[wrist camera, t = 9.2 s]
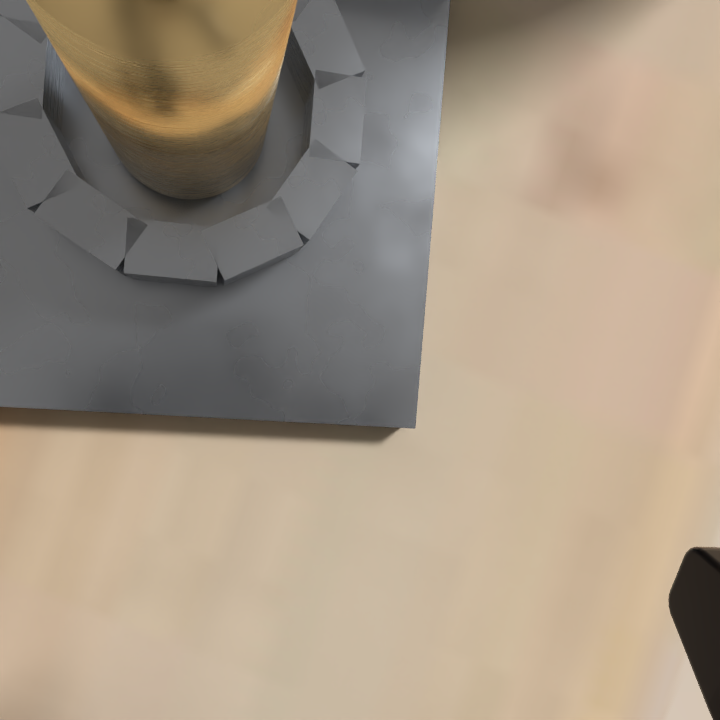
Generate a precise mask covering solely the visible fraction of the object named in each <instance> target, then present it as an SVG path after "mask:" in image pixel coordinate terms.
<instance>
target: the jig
mask: <svg viewBox="0 0 720 720" xmlns="http://www.w3.org/2000/svg"><path fill="white" fill-rule="evenodd" d="M449 9H450V0H297V4H296V8H295V13H294V17H293V21H292V25H291V30H290V34H289V38H288V42H287V47H286V51H285V55H284V60H283V64H282V68H281V72H280V77H279V81H278V85H277V89H276V94H275V98H274V102H273V106H272V111H271V115H270V119H269V123H268V128H267V132H266V136H265V140H264V144H263V148H262V151H261V154H260V156H259V158H258V161H257V162H256V164H255V166H254V167H253V169H252V170H251V171H250V173H249V174H248V175H247V176H246V177H245V178H244V179H243V180H242V181H241V182H240V183H239V184H237V185H236V186H234V187H233V188H231V189H230V190H228V191H226V192H224V193H222V194H219V195H216V196H213V197H208V198H203V199H180V198H175V197H170V196H167V195H164V194H161V193H159V192H157V191H155V190H153V189H151V188H149V187H148V186H146V185H144V184H143V183H141V182H140V181H139V180H138V179H136V178H135V177H134V176H133V175H132V174H131V173H130V172H129V171H128V170H127V169H126V168H125V166H124V165H123V164H122V162H121V161H120V159H119V158H118V156H117V154H116V153H115V151H114V149H113V148H112V146H111V144H110V142H109V141H108V139H107V137H106V136H105V134H104V132H103V131H102V129H101V127H100V125H99V124H98V122H97V120H96V119H95V117H94V115H93V113H92V112H91V110H90V108H89V107H88V105H87V103H86V102H85V100H84V98H83V96H82V95H81V93H80V91H79V90H78V88H77V86H76V85H75V83H74V81H73V79H72V78H71V76H70V74H69V73H68V71H67V69H66V68H65V66H64V64H63V62H62V61H61V59H60V57H59V56H58V54H57V52H56V50H55V49H54V47H53V45H52V44H51V42H50V40H49V39H48V37H47V35H46V33H45V32H44V30H43V28H42V27H41V25H40V23H39V22H38V20H37V18H36V16H35V15H34V13H33V11H32V10H31V8H30V6H29V5H28V3H27V1H26V0H0V407H18V408H37V409H55V410H74V411H93V412H112V413H131V414H150V415H169V416H188V417H207V418H226V419H245V420H264V421H283V422H302V423H321V424H340V425H359V426H377V427H396V428H415V425H416V413H417V401H418V388H419V376H420V364H421V352H422V339H423V327H424V315H425V303H426V290H427V278H428V266H429V254H430V241H431V229H432V217H433V205H434V193H435V180H436V168H437V156H438V144H439V131H440V119H441V107H442V95H443V82H444V70H445V58H446V46H447V33H448V21H449Z"/></svg>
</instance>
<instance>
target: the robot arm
mask: <svg viewBox="0 0 720 720" xmlns="http://www.w3.org/2000/svg"><path fill="white" fill-rule="evenodd" d="M669 609H670V613H671V616H672V618H673V621H674V623H675V626H676V628H677V631H678V634H679V636H680V639H681V641H682V644H683V646H684V649H685V651H686V654H687V656H688V659H689V661H690V664H691V666H692V669H693V671H694V674H695V676H696V679H697V681H698V684H699V686H700V689H701V692H702V694H703V696H704V699H705V702H706V704H707V707H708V709H709V711H710V714H711V716H712V718H713V720H720V548H717V547H694V548H691V549H690V550H689V551H688V552H686V554H685V556H684V558H683V561H682V563H681V566H680V568H679V571H678V573H677V576H676V578H675V580H674V583H673V585H672V588H671V590H670V593H669Z"/></svg>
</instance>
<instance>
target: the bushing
mask: <svg viewBox="0 0 720 720" xmlns="http://www.w3.org/2000/svg"><path fill="white" fill-rule="evenodd" d="M26 1H27V3H28V5H29V6H30V8H31V10H32V11H33V13H34V15H35V16H36V18H37V20H38V22H39V23H40V25H41V27H42V28H43V30H44V32H45V33H46V35H47V37H48V39H49V40H50V42H51V44H52V45H53V47H54V49H55V50H56V52H57V54H58V56H59V57H60V59H61V61H62V62H63V64H64V66H65V68H66V69H67V71H68V73H69V74H70V76H71V78H72V79H73V81H74V83H75V85H76V86H77V88H78V90H79V91H80V93H81V95H82V96H83V98H84V100H85V102H86V103H87V105H88V107H89V108H90V110H91V112H92V113H93V115H94V117H95V119H96V120H97V122H98V124H99V125H100V127H101V129H102V131H103V132H104V134H105V136H106V137H107V139H108V141H109V142H110V144H111V146H112V148H113V149H114V151H115V153H116V154H117V156H118V158H119V159H120V161H121V162H122V164H123V165H124V166H125V168H126V169H127V170H128V171H129V172H130V173H131V174H132V175H133V176H134V177H135V178H136V179H138V180H139V181H140V182H141V183H143V184H144V185H146V186H148V187H149V188H151V189H153V190H155V191H157V192H159V193H161V194H164V195H167V196H170V197H175V198H180V199H203V198H208V197H213V196H216V195H219V194H222V193H224V192H226V191H228V190H230V189H231V188H233V187H234V186H236V185H237V184H239V183H240V182H241V181H242V180H243V179H244V178H245V177H246V176H247V175H248V174H249V173H250V171H251V170H252V169H253V167H254V166H255V164H256V162H257V161H258V158H259V156H260V154H261V151H262V148H263V144H264V140H265V136H266V132H267V128H268V123H269V119H270V115H271V111H272V106H273V102H274V98H275V94H276V89H277V85H278V81H279V77H280V72H281V68H282V64H283V60H284V55H285V51H286V47H287V42H288V38H289V34H290V30H291V25H292V21H293V17H294V13H295V8H296V4H297V0H26Z"/></svg>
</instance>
